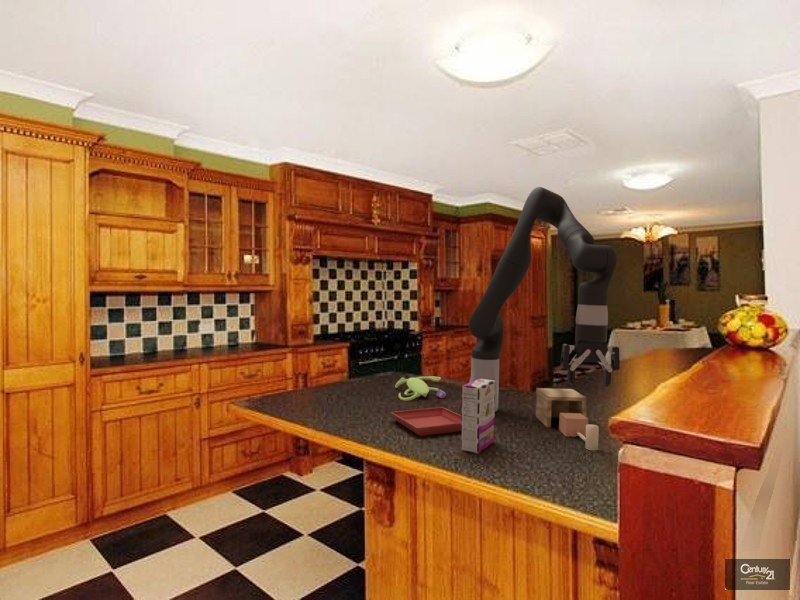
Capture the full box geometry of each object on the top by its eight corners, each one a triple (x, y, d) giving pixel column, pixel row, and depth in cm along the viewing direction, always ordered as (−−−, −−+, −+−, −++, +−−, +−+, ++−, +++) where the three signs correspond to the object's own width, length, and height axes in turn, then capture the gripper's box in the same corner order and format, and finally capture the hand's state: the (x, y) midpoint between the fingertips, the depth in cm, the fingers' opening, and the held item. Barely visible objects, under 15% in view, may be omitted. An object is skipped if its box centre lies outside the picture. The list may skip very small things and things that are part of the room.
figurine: (438, 386, 195) (439, 373, 195) (450, 402, 168) (450, 386, 168) (394, 386, 193) (394, 373, 193) (398, 402, 167) (399, 386, 167)
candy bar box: (477, 438, 126) (478, 377, 126) (494, 442, 124) (496, 380, 123) (459, 450, 117) (461, 384, 116) (478, 454, 114) (480, 387, 114)
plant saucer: (390, 422, 142) (390, 411, 142) (442, 416, 149) (442, 406, 149) (416, 440, 125) (417, 427, 125) (474, 433, 133) (474, 421, 133)
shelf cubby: (546, 427, 139) (547, 396, 139) (535, 416, 151) (536, 388, 151) (585, 428, 139) (586, 397, 139) (571, 417, 151) (572, 389, 151)
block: (581, 451, 118) (582, 427, 118) (559, 430, 136) (559, 409, 136) (605, 451, 118) (606, 428, 118) (579, 430, 136) (580, 409, 136)
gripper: (568, 322, 117) (565, 387, 118) (626, 324, 117) (623, 389, 117) (559, 320, 125) (556, 381, 125) (613, 322, 125) (610, 383, 125)
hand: (588, 385), depth 121 cm, fingers open, 8 cm apart
